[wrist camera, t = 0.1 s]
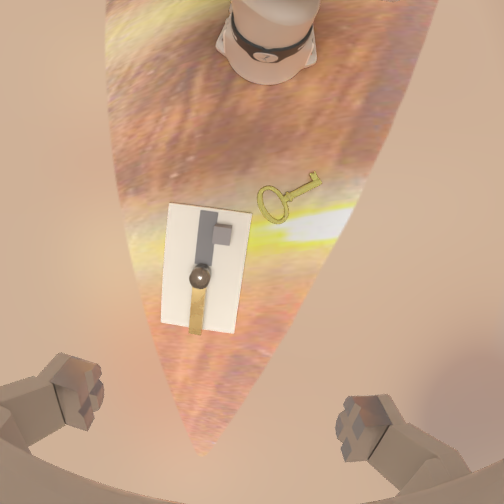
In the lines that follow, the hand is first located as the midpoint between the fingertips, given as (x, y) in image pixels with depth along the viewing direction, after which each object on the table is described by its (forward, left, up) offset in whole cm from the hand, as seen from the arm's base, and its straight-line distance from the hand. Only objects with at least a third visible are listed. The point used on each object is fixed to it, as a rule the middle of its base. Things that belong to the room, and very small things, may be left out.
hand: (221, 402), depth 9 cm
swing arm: (+17, -6, -46) cm, 50 cm away
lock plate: (+12, -6, -48) cm, 50 cm away
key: (-4, +8, -49) cm, 49 cm away
